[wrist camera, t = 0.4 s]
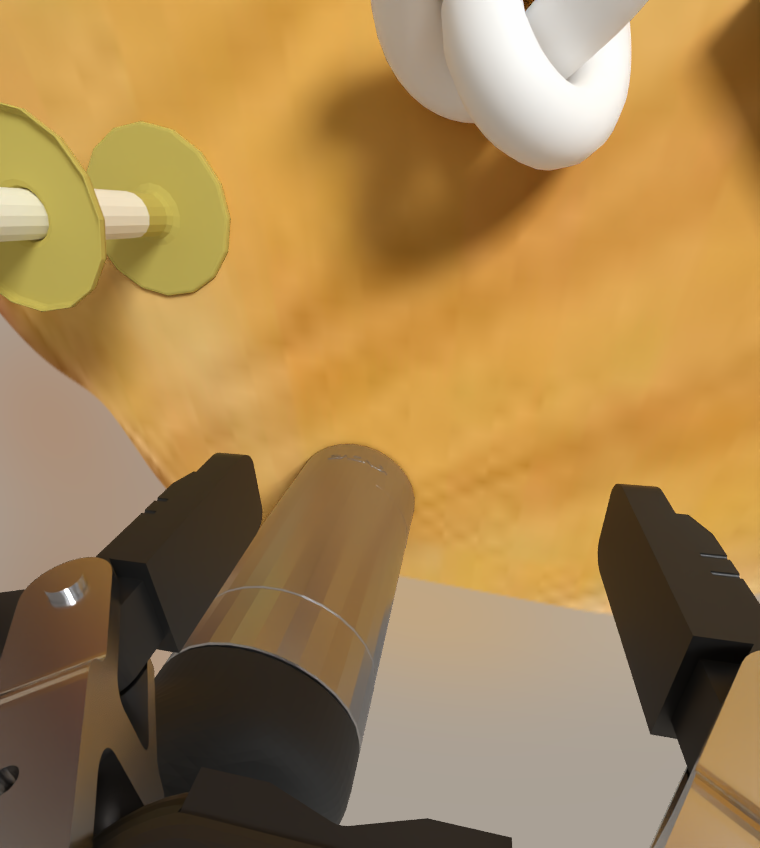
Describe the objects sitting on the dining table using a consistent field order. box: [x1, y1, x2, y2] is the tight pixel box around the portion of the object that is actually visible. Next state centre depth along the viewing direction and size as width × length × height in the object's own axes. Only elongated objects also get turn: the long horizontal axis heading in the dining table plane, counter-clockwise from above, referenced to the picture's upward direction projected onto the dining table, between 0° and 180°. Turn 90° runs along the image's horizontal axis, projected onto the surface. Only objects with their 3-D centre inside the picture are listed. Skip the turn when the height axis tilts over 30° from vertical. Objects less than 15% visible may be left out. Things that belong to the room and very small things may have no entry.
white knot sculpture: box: [371, 0, 648, 170], centre depth 18 cm, size 11×12×9 cm
